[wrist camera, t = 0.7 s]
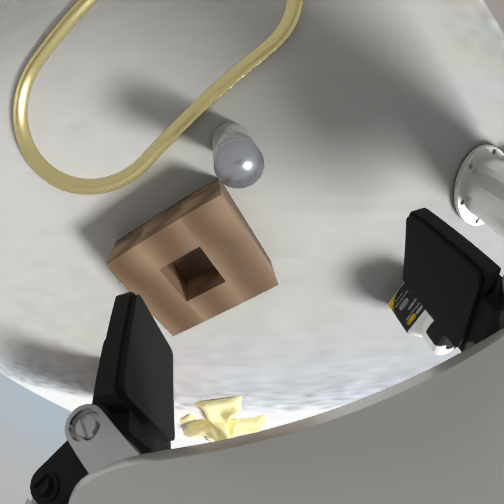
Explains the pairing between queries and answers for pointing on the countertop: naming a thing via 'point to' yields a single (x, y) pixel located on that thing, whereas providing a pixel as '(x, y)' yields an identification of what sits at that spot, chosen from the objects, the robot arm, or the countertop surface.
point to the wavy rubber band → (165, 138)
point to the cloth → (221, 420)
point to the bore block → (193, 260)
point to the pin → (236, 156)
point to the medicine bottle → (419, 321)
